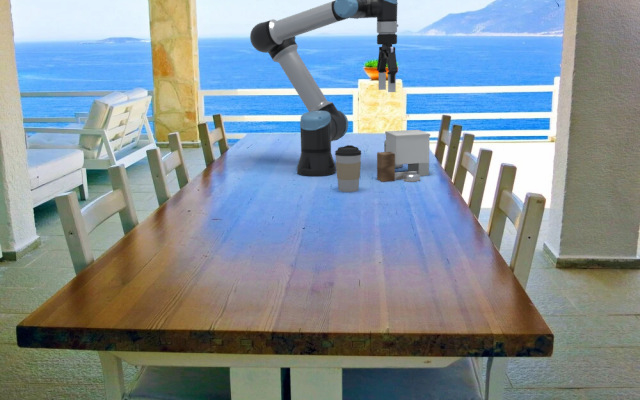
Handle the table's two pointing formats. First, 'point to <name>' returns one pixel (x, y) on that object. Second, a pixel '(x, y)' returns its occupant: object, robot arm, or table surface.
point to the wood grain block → (388, 167)
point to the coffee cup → (348, 168)
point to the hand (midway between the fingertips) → (386, 90)
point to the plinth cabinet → (410, 149)
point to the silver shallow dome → (411, 177)
